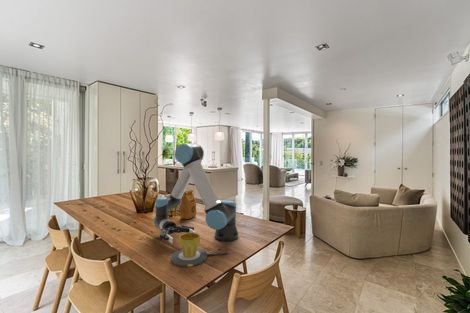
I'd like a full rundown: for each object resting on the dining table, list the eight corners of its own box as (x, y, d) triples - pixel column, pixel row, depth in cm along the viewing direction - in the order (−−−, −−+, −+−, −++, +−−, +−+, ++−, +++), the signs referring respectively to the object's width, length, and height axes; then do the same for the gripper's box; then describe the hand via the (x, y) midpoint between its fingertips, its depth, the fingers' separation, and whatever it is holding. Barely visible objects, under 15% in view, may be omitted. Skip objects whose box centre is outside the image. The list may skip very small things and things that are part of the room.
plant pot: (184, 261, 110) (184, 241, 110) (175, 253, 119) (176, 235, 118) (203, 255, 116) (203, 237, 116) (194, 248, 125) (194, 231, 124)
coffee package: (198, 216, 188) (198, 190, 187) (188, 220, 177) (188, 192, 176) (188, 214, 192) (188, 188, 191) (178, 218, 181) (178, 191, 181)
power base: (224, 246, 131) (224, 244, 131) (232, 262, 113) (232, 259, 113) (171, 251, 124) (171, 249, 124) (170, 269, 106) (170, 266, 106)
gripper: (186, 228, 145) (204, 238, 129) (147, 237, 129) (161, 251, 113) (186, 216, 145) (204, 225, 129) (147, 224, 129) (161, 236, 113)
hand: (184, 237), depth 121 cm, fingers open, 13 cm apart
